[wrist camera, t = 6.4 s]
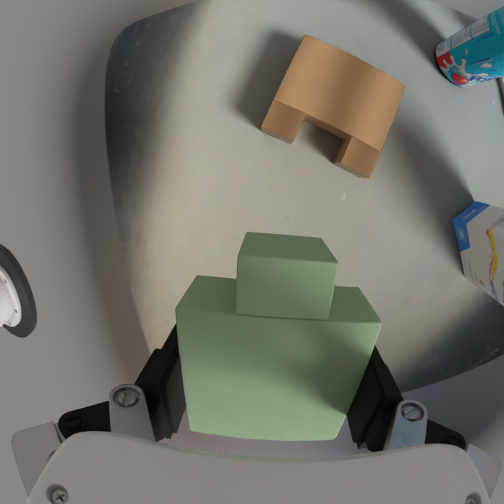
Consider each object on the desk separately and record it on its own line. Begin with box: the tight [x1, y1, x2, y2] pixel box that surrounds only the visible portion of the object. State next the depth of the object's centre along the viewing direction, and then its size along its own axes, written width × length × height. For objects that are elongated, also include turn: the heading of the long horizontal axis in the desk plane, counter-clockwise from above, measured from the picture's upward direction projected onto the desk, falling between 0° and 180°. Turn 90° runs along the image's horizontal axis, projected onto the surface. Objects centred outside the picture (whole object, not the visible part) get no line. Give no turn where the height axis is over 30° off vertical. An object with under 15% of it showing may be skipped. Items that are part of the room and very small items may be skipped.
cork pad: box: [261, 35, 405, 178], centre depth 21 cm, size 10×10×3 cm
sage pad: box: [175, 232, 381, 441], centre depth 11 cm, size 7×9×3 cm
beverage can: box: [435, 7, 504, 87], centre depth 12 cm, size 6×6×15 cm
